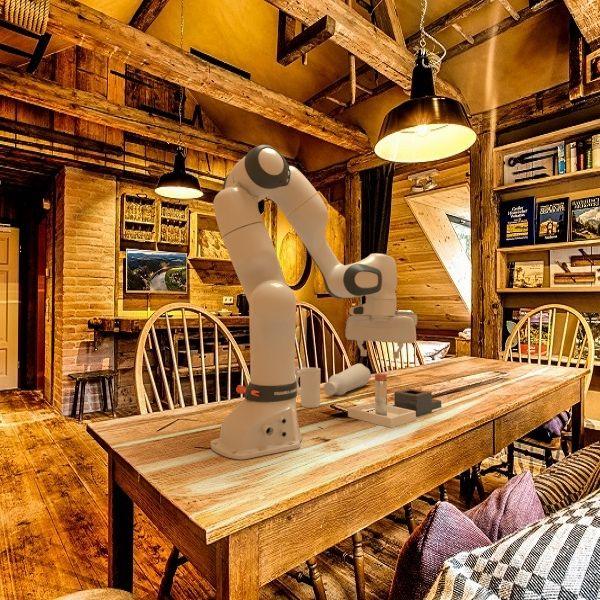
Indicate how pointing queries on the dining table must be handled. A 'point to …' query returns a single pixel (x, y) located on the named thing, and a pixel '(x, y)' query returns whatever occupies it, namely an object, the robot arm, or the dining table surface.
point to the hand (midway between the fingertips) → (379, 357)
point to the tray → (393, 418)
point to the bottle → (347, 380)
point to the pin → (381, 394)
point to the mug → (309, 387)
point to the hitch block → (416, 401)
